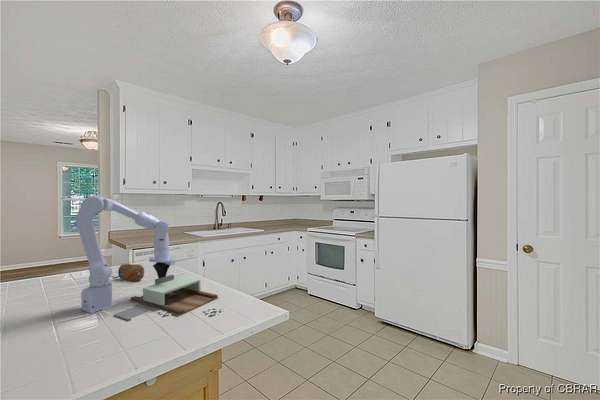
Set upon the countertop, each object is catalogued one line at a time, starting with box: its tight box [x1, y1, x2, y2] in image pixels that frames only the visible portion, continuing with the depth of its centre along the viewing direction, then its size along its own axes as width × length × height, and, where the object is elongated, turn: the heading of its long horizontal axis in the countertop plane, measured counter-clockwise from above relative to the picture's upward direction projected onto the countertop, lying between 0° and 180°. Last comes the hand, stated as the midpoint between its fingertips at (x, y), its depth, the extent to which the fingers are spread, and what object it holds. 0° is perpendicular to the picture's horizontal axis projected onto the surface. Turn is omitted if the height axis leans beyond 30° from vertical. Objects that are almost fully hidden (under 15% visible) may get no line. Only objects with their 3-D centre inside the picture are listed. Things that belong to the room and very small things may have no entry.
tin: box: [117, 263, 145, 282], centre depth 144 cm, size 15×3×8 cm, turn 73°
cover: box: [142, 274, 201, 306], centre depth 117 cm, size 18×12×7 cm, turn 152°
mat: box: [113, 305, 152, 322], centre depth 103 cm, size 9×9×1 cm
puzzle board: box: [129, 288, 219, 317], centre depth 116 cm, size 20×30×2 cm, turn 62°
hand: (162, 279), depth 120 cm, fingers closed
